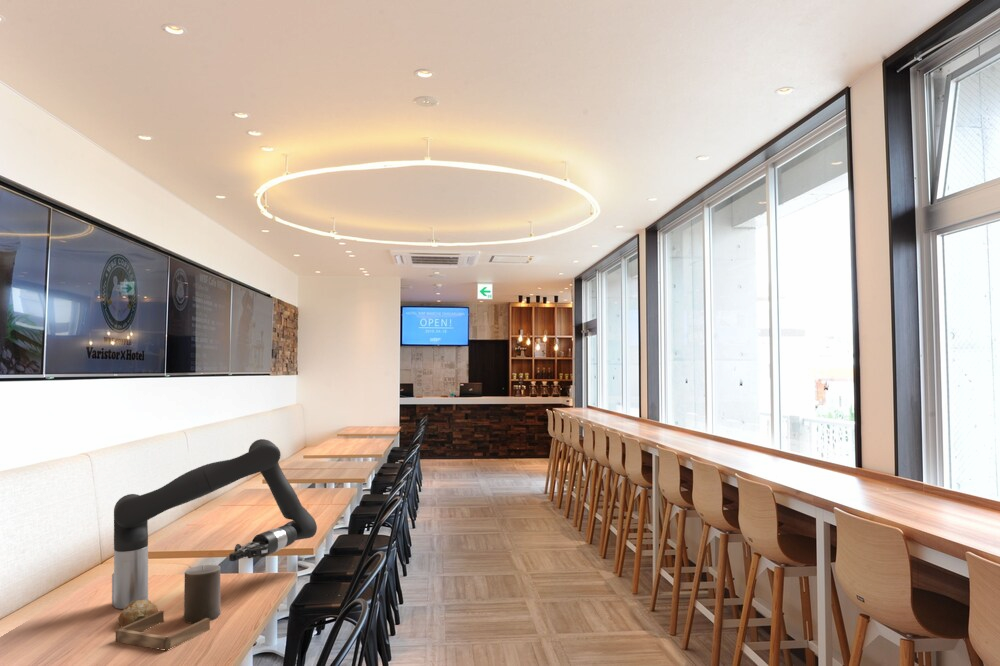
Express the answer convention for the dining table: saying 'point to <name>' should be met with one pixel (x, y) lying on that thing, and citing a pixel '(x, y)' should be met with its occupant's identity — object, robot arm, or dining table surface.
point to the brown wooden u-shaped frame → (136, 637)
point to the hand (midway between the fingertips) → (231, 558)
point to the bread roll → (136, 612)
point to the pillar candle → (202, 593)
